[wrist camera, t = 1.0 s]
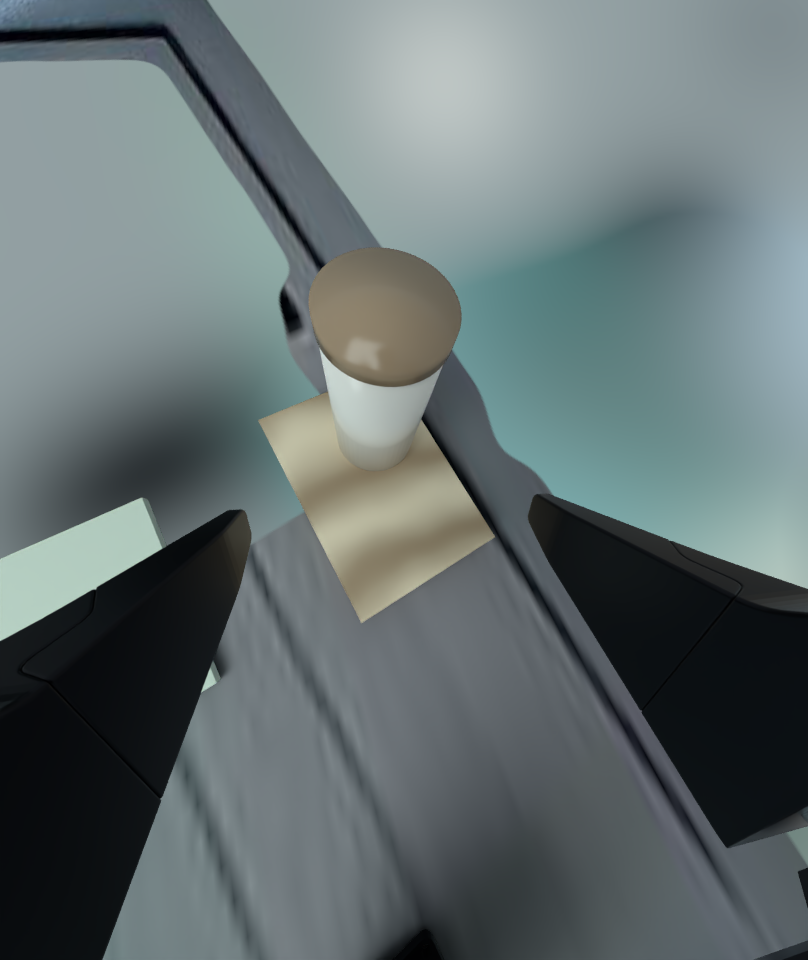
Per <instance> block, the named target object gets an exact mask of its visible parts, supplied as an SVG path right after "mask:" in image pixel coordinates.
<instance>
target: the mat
mask: <svg viewBox="0 0 808 960" xmlns="http://www.w3.org/2000/svg"><path fill="white" fill-rule="evenodd" d="M166 546H167V545H166V543H165V540H164V538H163V535H162V533H161V531H160V528H159V526H158V523H157V521H156V518H155V516H154V513H153V511H152V508H151V506H150V503H149V501H148V499H145V498H140V499H137V500H135V501H133V502H131V503H128V504H126V505H124V506H121V507H119V508H117V509H115V510H112V511H110V512H107V513H105V514H103V515H101V516H98V517H96V518H94V519H91V520H89V521H87V522H84V523H82V524H80V525H77V526H75V527H73V528H71V529H68V530H66V531H64V532H61V533H59V534H57V535H55V536H52V537H50V538H47V539H46V540H43V541H41V542H38V543H36V544H34V545H31V546H29V547H27V548H24V549H22V550H20V551H17V552H15V553H13V554H11V555H8V556H6V557H4V558H1V559H0V641H1V640H3V639H5V638H7V637H9V636H10V635H12V634H14V633H16V632H18V631H20V630H22V629H23V628H25V627H27V626H29V625H31V624H33V623H35V622H36V621H38V620H40V619H42V618H44V617H45V616H47V615H49V614H51V613H52V612H54V611H56V610H58V609H59V608H61V607H63V606H65V605H67V604H68V603H70V602H72V601H74V600H75V599H77V598H79V597H80V596H82V595H84V594H85V593H87V592H89V591H91V590H93V589H95V590H96V588H97V587H98V586H99V585H101V584H103V583H104V582H106V581H108V580H110V579H111V578H113V577H115V576H116V575H118V574H120V573H122V572H123V571H125V570H127V569H128V568H130V567H132V566H134V565H135V564H137V563H139V562H140V561H142V560H144V559H145V558H147V557H149V556H151V555H152V554H154V553H156V552H157V551H159V550H161V549H163V548H164V547H166ZM220 680H221V678H220V676H219V673H218V671H217V668H216V666H215V663H214V661H213V662H212V664H211V667H210V670H209V673H208V675H207V678H206V681H205V683H204V686H203V689H202V691H201V692H203V691H204V690H206V689H208V688H209V687H211V686H212V685H214V684H216V683H217V682H218V681H220Z"/></svg>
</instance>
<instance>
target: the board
mask: <svg viewBox="0 0 808 960" xmlns="http://www.w3.org/2000/svg"><path fill="white" fill-rule="evenodd" d="M258 421H259V423H260V424H261V427H262V429H263V430H264V433H265V434H266V436H267V438H268V440H269V442H270V444H271V446H272V448H273V450H274V452H275V454H276V456H277V458H278V460H279V462H280V464H281V466H282V468H283V470H284V472H285V474H286V475H287V478H288V480H289V482H290V484H291V486H292V487H293V489H294V491H295V493H296V495H297V497H298V499H299V501H300V503H301V505H302V507H303V509H304V511H305V513H306V515H307V517H308V519H309V521H310V523H311V525H312V527H313V529H314V531H315V533H316V535H317V537H318V538H319V540H320V542H321V544H322V546H323V548H324V550H325V552H326V554H327V556H328V558H329V560H330V562H331V564H332V566H333V568H334V570H335V572H336V574H337V576H338V578H339V580H340V582H341V584H342V586H343V588H344V589H345V591H346V593H347V595H348V597H349V599H350V601H351V603H352V605H353V607H354V609H355V611H356V613H357V615H358V617H359V619H360V621H361V623H362V622H364V621H366V620H367V619H369V618H370V617H372V616H373V615H375V614H376V613H378V612H380V611H381V610H383V609H384V608H386V607H387V606H389V605H390V604H392V603H393V602H395V601H397V600H398V599H400V598H401V597H403V596H404V595H406V594H407V593H409V592H411V591H412V590H414V589H415V588H417V587H418V586H420V585H421V584H423V583H425V582H426V581H428V580H429V579H431V578H432V577H434V576H435V575H437V574H438V573H440V572H442V571H443V570H445V569H446V568H448V567H449V566H451V565H452V564H454V563H456V562H457V561H459V560H460V559H462V558H463V557H465V556H466V555H468V554H470V553H471V552H473V551H474V550H476V549H477V548H479V547H480V546H482V545H483V544H485V543H487V542H488V541H490V540H491V539H493V538H494V537H495V536H494V534H493V533H492V531H491V530H490V528H489V526H488V525H487V523H486V522H485V520H484V519H483V517H482V515H481V514H480V512H479V511H478V509H477V507H476V506H475V504H474V503H473V501H472V499H471V498H470V496H469V495H468V493H467V491H466V490H465V488H464V487H463V485H462V484H461V482H460V480H459V479H458V477H457V476H456V474H455V472H454V471H453V469H452V468H451V466H450V464H449V463H448V461H447V460H446V458H445V456H444V455H443V453H442V452H441V450H440V449H439V447H438V445H437V444H436V442H435V441H434V439H433V437H432V436H431V434H430V433H429V431H428V429H427V428H426V426H425V425H424V423H423V422H422V420H421V421H420V423H419V426H418V428H417V431H416V433H415V436H414V438H413V441H412V443H411V446H410V448H409V451H408V453H407V455H406V456H405V458H404V459H403V460H402V461H401V462H400V463H399V464H397V465H396V466H394V467H392V468H390V469H387V470H384V471H367V470H363V469H361V468H358V467H356V466H355V465H353V464H352V463H350V462H349V461H348V460H347V459H346V458H345V457H344V455H343V454H342V452H341V450H340V448H339V444H338V440H337V435H336V429H335V424H334V419H333V414H332V409H331V404H330V399H329V393H328V392H326V393H323V394H321V395H318V396H316V397H313V398H311V399H309V400H306V401H304V402H301V403H299V404H296V405H294V406H292V407H289V408H287V409H284V410H282V411H279V412H277V413H275V414H272V415H270V416H267V417H265V418H263V419H260V420H258Z"/></svg>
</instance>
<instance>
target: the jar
mask: <svg viewBox="0 0 808 960" xmlns="http://www.w3.org/2000/svg"><path fill="white" fill-rule="evenodd" d="M309 310H310V316H311V320H312V325H313V330H314V335H315V338H316V341H317V343H318V345H319V347H320V352H321V358H322V363H323V368H324V373H325V378H326V383H327V388H328V393H329V399H330V404H331V409H332V414H333V419H334V424H335V429H336V435H337V440H338V444H339V448H340V450H341V452H342V454H343V455H344V457H345V458H346V459H347V460H348V461H349V462H350V463H352V464H353V465H355V466H356V467H358V468H361V469H363V470H367V471H384V470H387V469H390V468H392V467H394V466H396V465H397V464H399V463H400V462H401V461H402V460H403V459H404V458H405V456H406V455H407V453H408V451H409V448H410V446H411V443H412V441H413V438H414V436H415V433H416V431H417V428H418V426H419V423H420V421H421V418H422V416H423V414H424V411H425V409H426V406H427V404H428V401H429V399H430V396H431V394H432V391H433V389H434V386H435V384H436V381H437V379H438V376H439V374H440V371H441V369H442V366H443V365H444V363H445V362H446V361H447V359H448V357H449V355H450V353H451V351H452V348H453V346H454V343H455V341H456V338H457V336H458V333H459V330H460V326H461V307H460V303H459V300H458V297H457V295H456V293H455V290H454V289H453V287H452V286H451V284H450V283H449V282H448V280H447V279H446V278H445V277H444V276H443V275H442V274H441V273H440V272H439V271H438V270H437V269H436V268H434V267H433V266H432V265H430V264H429V263H427V262H426V261H424V260H422V259H420V258H418V257H416V256H414V255H411V254H409V253H406V252H403V251H399V250H394V249H389V248H363V249H357V250H353V251H350V252H347V253H344V254H342V255H340V256H338V257H336V258H334V259H333V260H331V261H330V262H328V263H327V264H326V265H325V266H324V267H323V268H322V269H321V270H320V271H319V273H318V274H317V276H316V277H315V279H314V281H313V283H312V286H311V288H310V293H309Z"/></svg>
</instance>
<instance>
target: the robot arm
mask: <svg viewBox="0 0 808 960" xmlns="http://www.w3.org/2000/svg"><path fill="white" fill-rule="evenodd" d="M528 520H529V523H530V525H531V527H532V529H533V532H534V534H535V536H536V538H537V540H538V542H539V544H540V546H541V548H542V550H543V552H544V554H545V556H546V558H547V560H548V562H549V563H550V565H551V567H552V568H553V570H554V572H555V573H556V575H557V576H558V578H559V580H560V581H561V583H562V585H563V586H564V588H565V589H566V591H567V593H568V594H569V596H570V597H571V599H572V601H573V602H574V604H575V606H576V607H577V609H578V610H579V612H580V614H581V615H582V617H583V618H584V620H585V622H586V623H587V625H588V627H589V628H590V630H591V631H592V633H593V635H594V636H595V638H596V639H597V641H598V643H599V644H600V646H601V648H602V649H603V651H604V652H605V654H606V656H607V657H608V659H609V660H610V662H611V664H612V665H613V667H614V669H615V670H616V672H617V673H618V675H619V677H620V678H621V680H622V681H623V683H624V685H625V686H626V688H627V690H628V691H629V693H630V694H631V696H632V698H633V699H634V701H635V702H636V704H637V706H638V707H639V709H640V710H642V714H643V716H644V717H645V719H646V721H647V722H648V724H649V726H650V727H651V729H652V730H653V732H654V734H655V735H656V737H657V738H658V740H659V742H660V743H661V745H662V747H663V748H664V750H665V751H666V753H667V755H668V756H669V758H670V759H671V761H672V763H673V764H674V766H675V768H676V769H677V771H678V772H679V774H680V776H681V777H682V779H683V781H684V782H685V784H686V785H687V787H688V789H689V790H690V792H691V793H692V795H693V797H694V798H695V800H696V802H697V803H698V805H699V806H700V808H701V810H702V811H703V813H704V814H705V816H706V818H707V819H708V821H709V823H710V824H711V826H712V827H713V829H714V831H715V832H716V834H717V835H718V837H719V838H720V840H721V841H722V842H723V844H724V845H725V846H726V847H727V848H731V847H735V846H739V845H742V844H746V843H749V842H753V841H757V840H760V839H764V838H767V837H771V836H775V835H778V834H782V833H785V832H789V831H793V830H796V829H799V828H803V827H807V826H808V589H806V588H803V587H800V586H797V585H794V584H792V583H789V582H786V581H782V580H780V579H777V578H774V577H771V576H768V575H765V574H762V573H760V572H756V571H754V570H751V569H748V568H745V567H742V566H739V565H736V564H733V563H731V562H728V561H725V560H722V559H719V558H716V557H714V556H710V555H708V554H705V553H703V552H700V551H697V550H695V549H692V548H689V547H686V546H684V545H681V544H678V543H675V542H673V541H669V540H668V539H665V538H663V537H660V536H657V535H655V534H652V533H649V532H647V531H644V530H642V529H639V528H636V527H634V526H631V525H629V524H626V523H623V522H621V521H618V520H616V519H613V518H610V517H608V516H605V515H602V514H600V513H597V512H595V511H592V510H589V509H587V508H584V507H581V506H579V505H576V504H574V503H571V502H568V501H566V500H563V499H560V498H558V497H555V496H553V495H550V494H536V495H535V496H534V497H533V499H532V503H531V506H530V510H529V513H528ZM250 543H251V530H250V526H249V522H248V519H247V515H246V513H245V511H244V510H228V511H226V512H224V513H223V514H221V515H219V516H218V517H216V518H214V519H212V520H211V521H209V522H207V523H205V524H204V525H202V526H200V527H199V528H197V529H195V530H193V531H192V532H190V533H188V534H187V535H185V536H183V537H181V538H180V539H178V540H176V541H175V542H173V543H171V544H169V545H168V546H166V547H164V548H163V549H161V550H159V551H157V552H156V553H154V554H152V555H151V556H149V557H147V558H145V559H144V560H142V561H140V562H139V563H137V564H135V565H134V566H132V567H130V568H128V569H127V570H125V571H123V572H122V573H120V574H118V575H116V576H115V577H113V578H111V579H110V580H108V581H106V582H104V583H103V584H101V585H99V586H98V587H97V588H96V590H95V589H93V590H91V591H89V592H87V593H85V594H84V595H82V596H80V597H79V598H77V599H75V600H74V601H72V602H70V603H68V604H67V605H65V606H63V607H61V608H59V609H58V610H56V611H54V612H52V613H51V614H49V615H47V616H45V617H44V618H42V619H40V620H38V621H36V622H35V623H33V624H31V625H29V626H27V627H25V628H23V629H22V630H20V631H18V632H16V633H14V634H12V635H10V636H9V637H7V638H5V639H3V640H1V641H0V960H102V959H103V957H104V954H105V951H106V948H107V946H108V943H109V940H110V938H111V935H112V932H113V930H114V927H115V924H116V922H117V919H118V916H119V913H120V911H121V908H122V905H123V903H124V900H125V897H126V895H127V892H128V889H129V886H130V884H131V881H132V878H133V876H134V873H135V870H136V868H137V865H138V862H139V859H140V857H141V854H142V851H143V849H144V846H145V843H146V841H147V838H148V835H149V832H150V830H151V827H152V824H153V822H154V819H155V816H156V814H157V811H158V808H159V805H160V803H161V799H160V798H162V796H163V794H164V791H165V788H166V786H167V783H168V780H169V778H170V775H171V772H172V770H173V767H174V764H175V762H176V759H177V756H178V753H179V751H180V748H181V745H182V743H183V740H184V737H185V735H186V732H187V729H188V726H189V724H190V721H191V718H192V716H193V713H194V710H195V708H196V705H197V702H198V699H199V697H200V694H201V691H202V689H203V686H204V683H205V681H206V678H207V675H208V673H209V670H210V667H211V664H212V662H213V659H214V656H215V654H216V651H217V648H218V646H219V643H220V640H221V637H222V635H223V632H224V629H225V627H226V624H227V621H228V619H229V616H230V613H231V610H232V608H233V605H234V602H235V600H236V597H237V594H238V591H239V588H240V585H241V581H242V577H243V573H244V569H245V564H246V560H247V556H248V552H249V547H250ZM798 874H799V878H800V882H801V885H802V889H803V892H804V896H805V900H806V903H807V907H808V868H806V869H803V870H801V871H798ZM426 944H428V947H427V948H423V946H424V945H426ZM393 960H444V958H443V956H442V954H441V952H440V950H439V948H438V945H437V943H436V941H435V939H434V937H433V935H432V933H431V932H430V931H429V930H422V931H421V932H420V933H419V934H418V935H417V936H416V937H415V938H414V939H413V940H412V941H411V942H410V943H409V944H408V945H407V946H406V947H405V948H404V949H403V950H402V951H401V952H400V953H399V954H398V955H397V956H396V957H395V958H394V959H393ZM754 960H808V941H805V942H802V943H799V944H797V945H794V946H791V947H788V948H785V949H782V950H780V951H777V952H774V953H771V954H768V955H765V956H763V957H760V958H757V959H754Z"/></svg>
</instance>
